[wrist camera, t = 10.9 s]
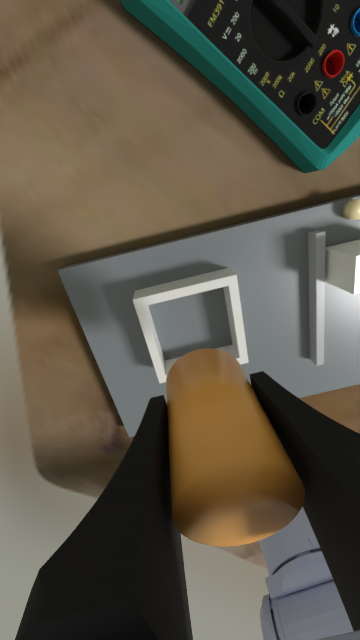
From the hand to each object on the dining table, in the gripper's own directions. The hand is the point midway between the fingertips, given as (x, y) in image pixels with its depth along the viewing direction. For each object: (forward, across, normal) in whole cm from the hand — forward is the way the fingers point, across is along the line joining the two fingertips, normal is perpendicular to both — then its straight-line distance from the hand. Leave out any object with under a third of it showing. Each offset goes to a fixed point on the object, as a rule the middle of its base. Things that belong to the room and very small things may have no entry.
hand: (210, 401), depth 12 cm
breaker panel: (+10, -4, +2) cm, 11 cm away
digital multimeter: (+10, -8, -16) cm, 20 cm away
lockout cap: (+1, 0, 0) cm, 1 cm away
